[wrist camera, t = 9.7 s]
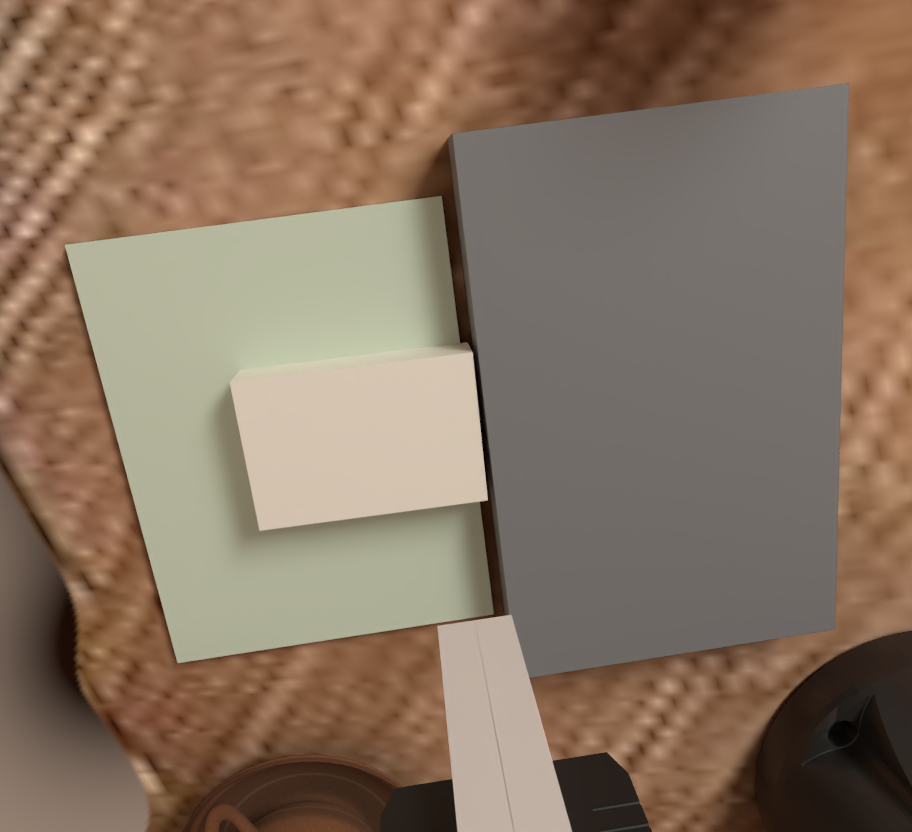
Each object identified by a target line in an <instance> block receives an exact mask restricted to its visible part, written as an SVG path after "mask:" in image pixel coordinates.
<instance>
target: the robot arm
mask: <svg viewBox="0 0 912 832" xmlns="http://www.w3.org/2000/svg"><path fill="white" fill-rule="evenodd" d="M438 636H439V646H440V657H441V667H442V677H443V688H444V698H445V708H446V718H447V729H448V739H449V749H450V760H451V770H452V779H450V780H444V781H438V782H432V783H425V784H419V785H413V786H407V787H401V788H394V789H393V791H392V793H391V796H390V798H389V800H388V802H387V804H386V806H385V808H384V810H383V812H382V814H381V820H380V832H652V831H651V828H649V825H648V821H647V818H646V816H645V813H644V811H643V808H642V806H641V805H640V803H639V799H638V796H637V794H636V791H635V789H634V786H633V784H632V781H631V779H630V776H629V774H628V773H627V772H626V771H625V770H624V769H623V768H622V767H621V766H620V765H619V764H618V763H617V762H616V761H615V760H614V759H613V758H612V757H611V756H610V755H609V754H608V753H607V752H605V753H599V754H593V755H587V756H580V757H574V758H568V759H562V760H555V761H552V758H551V754H550V751H549V747H548V744H547V740H546V736H545V733H544V729H543V726H542V722H541V719H540V715H539V711H538V708H537V704H536V701H535V697H534V693H533V690H532V686H531V683H530V679H529V676H528V672H527V668H526V665H525V661H524V658H523V654H522V651H521V647H520V643H519V640H518V636H517V633H516V629H515V625H514V622H513V618H512V615H507V616H500V617H494V618H487V619H480V620H474V621H467V622H461V623H454V624H448V625H441V626H438ZM755 788H756V799H757V804H758V808H759V812H760V815H761V818H762V820H763V822H764V825H765V827H766V828H767V830H768V832H912V631H907V632H902V633H897V634H893V635H889V636H885V637H882V638H879V639H876V640H873V641H871V642H868V643H866V644H863V645H861V646H859V647H857V648H855V649H852V650H851V651H849V652H847V653H845V654H843V655H841V656H840V657H838V658H836V659H835V660H833V661H832V662H830V663H829V664H827V665H826V666H825V667H823V668H822V669H820V670H819V671H818V672H817V673H815V674H814V675H813V676H812V677H811V678H809V679H808V680H807V681H806V682H805V683H804V684H803V685H802V686H801V687H800V688H799V689H798V690H797V691H796V692H795V693H794V694H793V695H792V697H791V698H790V699H789V700H788V701H787V703H786V704H785V705H784V707H783V708H782V709H781V711H780V712H779V714H778V715H777V717H776V718H775V720H774V722H773V724H772V725H771V727H770V729H769V731H768V733H767V735H766V738H765V740H764V743H763V745H762V748H761V751H760V755H759V759H758V763H757V769H756V781H755Z"/></svg>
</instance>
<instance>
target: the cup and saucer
mask: <svg viewBox="0 0 912 832" xmlns="http://www.w3.org/2000/svg"><path fill="white" fill-rule="evenodd" d="M401 787H403V786H402V785H400V784H399V783H398V782H397V781H395V780H394V779H392V778H391V777H389V776H388V775H386V774H384V773H383V772H381V771H379V770H377V769H375V768H373V767H370V766H368V765H366V764H363V763H360V762H357V761H353V760H349V759H345V758H340V757H334V756H325V755H298V756H289V757H283V758H277V759H273V760H269V761H266V762H263V763H260V764H257V765H254V766H252V767H249V768H247V769H245V770H243V771H241V772H239V773H237V774H235V775H234V776H232V777H230V778H229V779H227V780H226V781H224V782H223V783H221V784H220V785H219V786H218V787H217V788H215V789H214V790H213V791H212V792H211V793H210V794H209V795H208V796H207V797H206V798H205V799H204V800H203V801H202V802H201V804H200V805H199V806H198V808H197V809H196V810H195V812H194V813H193V815H192V816H191V818H190V820H189V821H188V823H187V825H186V827H185V829H184V831H183V832H380V820H381V814H382V812H383V810H384V808H385V806H386V804H387V802H388V800H389V798H390V796H391V793H392V791H393V789H394V788H401Z"/></svg>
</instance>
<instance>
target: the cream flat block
mask: <svg viewBox="0 0 912 832" xmlns="http://www.w3.org/2000/svg"><path fill="white" fill-rule="evenodd" d="M230 387H231V392H232V397H233V402H234V407H235V412H236V417H237V422H238V427H239V432H240V437H241V442H242V446H243V451H244V456H245V461H246V466H247V471H248V476H249V481H250V486H251V491H252V496H253V501H254V506H255V511H256V516H257V521H258V526H259V531H262V530H269V529H277V528H284V527H292V526H299V525H307V524H314V523H322V522H329V521H337V520H345V519H352V518H360V517H367V516H375V515H382V514H390V513H397V512H405V511H412V510H420V509H427V508H435V507H443V506H450V505H458V504H465V503H473V502H480V501H488V496H487V486H486V476H485V467H484V457H483V447H482V438H481V428H480V418H479V409H478V399H477V389H476V380H475V370H474V360H473V352H472V350H471V348H470V346H469V344H468V342H465V343H457V344H449V345H441V346H432V347H424V348H416V349H408V350H400V351H392V352H384V353H375V354H367V355H359V356H351V357H343V358H335V359H326V360H318V361H310V362H302V363H294V364H286V365H277V366H269V367H261V368H253V369H245V370H240V371H239V372H238V373H237V374H236V375H235V377H234V378H233V379H232V380H231V381H230Z"/></svg>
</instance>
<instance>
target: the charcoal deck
mask: <svg viewBox="0 0 912 832" xmlns="http://www.w3.org/2000/svg"><path fill="white" fill-rule="evenodd" d="M848 101H849V83H847V84H839V85H831V86H823V87H815V88H807V89H799V90H792V91H784V92H776V93H768V94H760V95H752V96H744V97H737V98H729V99H721V100H713V101H705V102H697V103H689V104H681V105H674V106H666V107H658V108H650V109H642V110H634V111H626V112H618V113H611V114H603V115H595V116H587V117H579V118H571V119H563V120H555V121H548V122H540V123H532V124H524V125H516V126H508V127H500V128H493V129H485V130H477V131H469V132H461V133H453V134H452V135H451V136H450V137H449V138H448V139H447V140H448V148H449V157H450V165H451V173H452V182H453V190H454V198H455V207H456V215H457V223H458V232H459V240H460V248H461V257H462V265H463V273H464V282H465V290H466V298H467V307H468V315H469V323H470V332H471V340H472V348H473V357H474V365H475V373H476V382H477V390H478V398H479V407H480V415H481V423H482V431H483V440H484V448H485V456H486V465H487V473H488V481H489V490H490V498H491V506H492V515H493V523H494V531H495V540H496V548H497V556H498V565H499V573H500V581H501V590H502V598H503V606H504V615H505V616H507V615H512V618H513V622H514V625H515V629H516V633H517V636H518V640H519V643H520V647H521V651H522V654H523V658H524V661H525V665H526V668H527V672H528V676H529V678H532V677H538V676H544V675H551V674H557V673H563V672H569V671H576V670H582V669H588V668H595V667H601V666H607V665H614V664H620V663H626V662H633V661H639V660H645V659H652V658H658V657H664V656H670V655H677V654H683V653H689V652H696V651H702V650H708V649H715V648H721V647H727V646H734V645H740V644H746V643H752V642H759V641H765V640H771V639H778V638H784V637H790V636H797V635H803V634H809V633H816V632H822V631H828V630H835V610H836V571H837V532H838V493H839V454H840V414H841V375H842V336H843V297H844V258H845V219H846V179H847V140H848Z"/></svg>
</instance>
